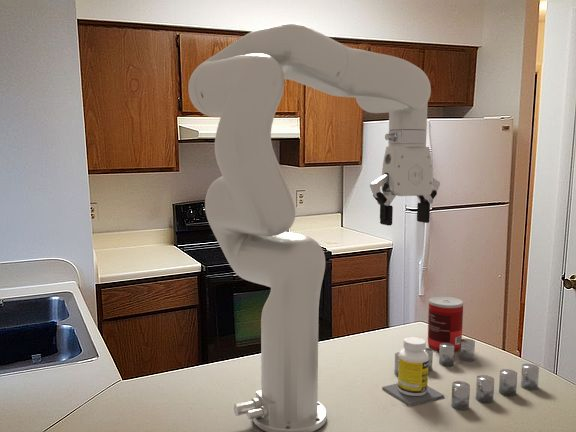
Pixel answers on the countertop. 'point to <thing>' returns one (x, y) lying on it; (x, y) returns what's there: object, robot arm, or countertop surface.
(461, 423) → the countertop surface
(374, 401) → the countertop surface
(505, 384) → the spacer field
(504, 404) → the countertop surface
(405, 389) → the supplement bottle
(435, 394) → the mat
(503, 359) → the countertop surface
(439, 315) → the canned food
